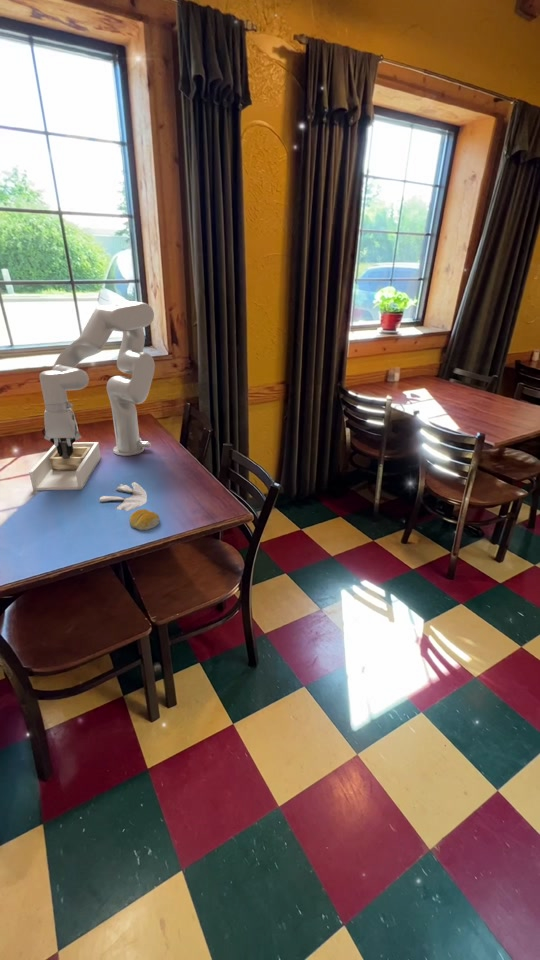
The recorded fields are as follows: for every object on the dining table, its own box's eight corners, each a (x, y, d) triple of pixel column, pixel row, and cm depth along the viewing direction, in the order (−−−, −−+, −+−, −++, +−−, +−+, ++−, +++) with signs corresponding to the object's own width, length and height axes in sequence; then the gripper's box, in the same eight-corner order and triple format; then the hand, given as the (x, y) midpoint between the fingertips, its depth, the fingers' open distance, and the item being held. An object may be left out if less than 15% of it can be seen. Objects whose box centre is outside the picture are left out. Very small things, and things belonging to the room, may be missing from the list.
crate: (92, 458, 176) (88, 432, 171) (84, 470, 166) (80, 443, 161) (61, 459, 175) (56, 432, 170) (51, 471, 164) (45, 443, 160)
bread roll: (143, 513, 142) (142, 502, 140) (164, 522, 138) (163, 511, 136) (123, 524, 136) (122, 513, 134) (144, 534, 131) (142, 522, 130)
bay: (100, 458, 180) (98, 442, 177) (82, 489, 155) (79, 471, 152) (59, 458, 178) (55, 442, 175) (33, 490, 153) (29, 472, 150)
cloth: (131, 517, 141) (130, 510, 140) (76, 503, 147) (75, 497, 146) (166, 490, 158) (166, 484, 157) (115, 479, 165) (115, 473, 164)
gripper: (83, 403, 160) (91, 450, 168) (37, 403, 158) (47, 451, 166) (77, 409, 153) (86, 458, 161) (29, 409, 151) (39, 459, 159)
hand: (66, 454), depth 163 cm, fingers closed on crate, 2 cm apart
